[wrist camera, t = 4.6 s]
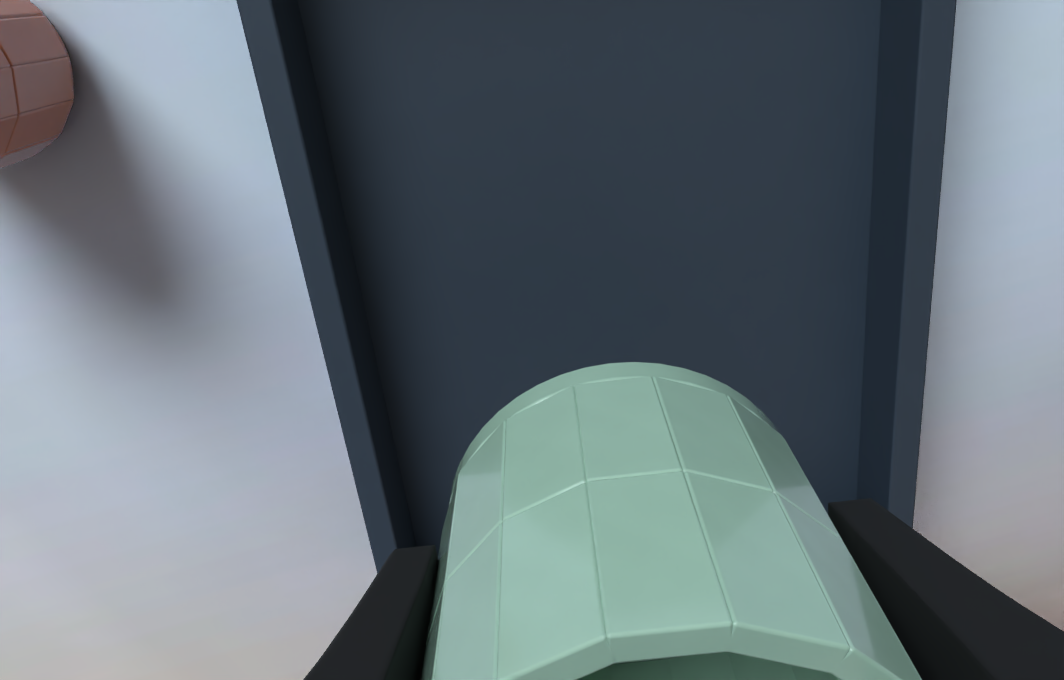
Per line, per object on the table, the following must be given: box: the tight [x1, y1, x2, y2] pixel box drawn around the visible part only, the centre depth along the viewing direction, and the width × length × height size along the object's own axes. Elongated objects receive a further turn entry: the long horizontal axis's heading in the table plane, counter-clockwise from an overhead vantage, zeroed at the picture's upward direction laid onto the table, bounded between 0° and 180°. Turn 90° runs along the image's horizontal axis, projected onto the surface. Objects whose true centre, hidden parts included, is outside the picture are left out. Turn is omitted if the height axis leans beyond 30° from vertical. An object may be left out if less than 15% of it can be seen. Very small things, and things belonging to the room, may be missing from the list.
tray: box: [237, 0, 956, 573], centre depth 17 cm, size 17×12×2 cm
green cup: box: [421, 362, 922, 680], centre depth 11 cm, size 6×6×6 cm
